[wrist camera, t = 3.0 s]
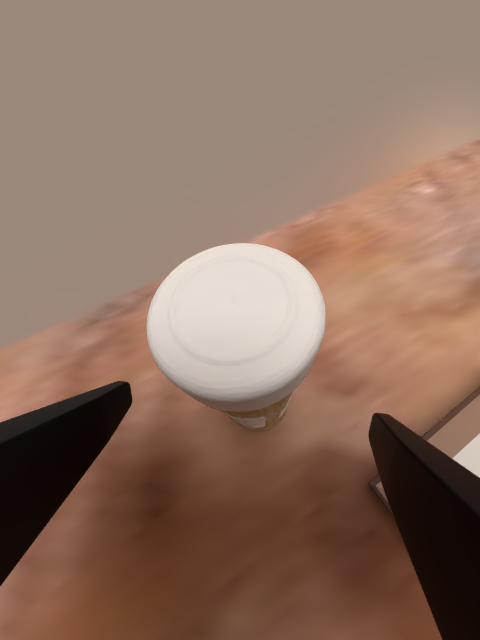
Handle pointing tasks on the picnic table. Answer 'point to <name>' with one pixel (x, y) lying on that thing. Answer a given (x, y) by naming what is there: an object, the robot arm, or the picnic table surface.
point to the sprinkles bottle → (238, 330)
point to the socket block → (453, 439)
